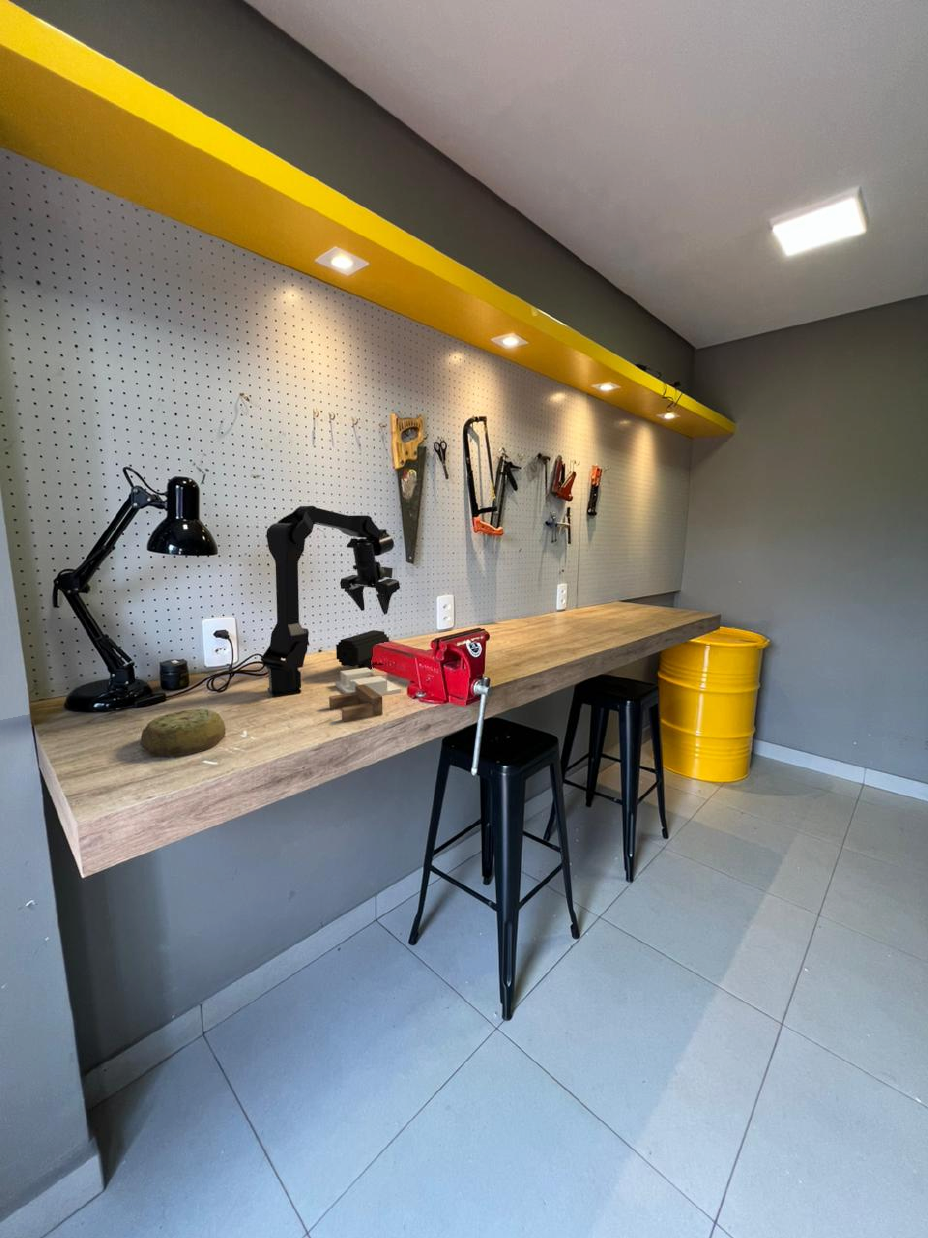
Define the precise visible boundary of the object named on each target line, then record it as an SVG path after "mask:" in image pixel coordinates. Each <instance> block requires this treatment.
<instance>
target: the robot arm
mask: <svg viewBox="0 0 928 1238" xmlns="http://www.w3.org/2000/svg"><path fill="white" fill-rule="evenodd" d="M315 525H318V526H323V527H326V528H331V529H336V530H339V531H340V532H342V533H343V534H345V535H348V536H349V537H352V538H350V540H349V542H348V543H347V544H346V548H347V549H352V552H353V556H354V557H353V558H354V563H355V564H354V565H352V569H353V570H356V574H350V575H349V576H346V577H343V578H341V580H340V582H339V584H340V589H343V590H344V592H346V593H347V594H348V596H349V597H350V598H351V599H352V600H353V602H354V603H355V605H356V606H357V607H358V608H359V610H360V611H362V612H363V611H365V606H366V605H365V598H364V589H365V588H372V589H375V592H376V593H377V594H375V595H376V598H377V600H378V604H379V607H380V609H381V612H382V613H383V615H387V614H388V612H389V608H390V607H389V606H390V604H391V603H390V602H391V598H392V595H393V594H394V593H397V591H398V590H400V589H401V584H400V581H399V580H398V579H396V578H395V579H394V578H393V570H394V568H393V567H389V566H387V567H386V566H381V562H380V561H377V559H376V557H378V556H381V555H384V554H386V553H389V552H391V551H392V550H393V549H394V546H395V542H394V539H393V538H392V536H391V535H390V534H389V533H388V532H387V529H386V528H383V529H381V528H378V526H377V525H376V523H375V522H374V521H373V517H371V516H370V515H365V514H364V515H357V514H356V515H347V514H343V513H340V512H336V511H331V510H327V509H323V508H320V507H317V506H315V505H300V506H298V507H296V509H294V510H293V511H292V512H291V513H288V514H287V515H286V516H284V517H282V518H280V519H279V520H278V521H277V522H276V523H273V524H271V525H270V526H269V527H268V528H266V529H267V530H266V535H265V536H266V541H267V547H268V551H269V553H270V554H271V557H272V558H273V560H274V562H275V588H276V589H275V590H276V620H277V621H276V624H275V625H274V628H273V629H272V632H271V633H270V642H269V646H268V647H267V649H266V650H265V652H264V653H263V654H262V656H261V658H260V663H261V664H262V666H263V667H267V675H268V687H267V691H268V692H269V693H270V694H269V695H271V696H272V697H274V698H276V697H281V696H287V695H292V694H293V695H294V694H300V693H302V690H301V688H302V675H301V674H302V673H301V671H300V670H299V669H301V668H303V667H304V664H305V663H304V662H305V657H306V654H307V653H308V646H311V645H310V641H309V635H310V631H309V629H308V628H304V627H303V626H302V624H301V623H300V609H299V607H300V600H299V598H300V597H299V561H300V558H302V555H303V553H304V551H305V546H306V545H305V544H306V539H307V538H308V537H309V536H310V535H311V534H312V532H314V531H313V530H314V526H315ZM353 537H356V538H353ZM385 578H386V579H385ZM283 659H284V660H283Z"/></svg>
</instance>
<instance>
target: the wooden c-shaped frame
mask: <svg viewBox="0 0 928 1238" xmlns="http://www.w3.org/2000/svg"><path fill="white" fill-rule="evenodd" d="M363 684H365V685H366V686H368V687H369V688H371V689H372V690H373V691H375V692H376V693H378V694H379V695H381V696H382V697H383V696H386V695H393V694H398V693H402V688H401V687H399V686H398V685H396V684H394V683H393V682H391V681H390V680H388V674H387V673H386V672H385V671H383V670H379V671H373V669H372V670H370V669H368V668H360V669H358V668H354V669H348V670H340V681H336V682H334V685H335V687H337V688H338V689H339V690H340V691H341V692H343V694H347V693H353V692H355V686H356V685H363Z"/></svg>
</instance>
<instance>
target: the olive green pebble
mask: <svg viewBox="0 0 928 1238" xmlns="http://www.w3.org/2000/svg"><path fill="white" fill-rule="evenodd" d="M141 732H142V733H141V736H140V737H141V738H140V745H141V748H142V749H143V750H144V751H145V752H146V753H148V754H149V755H152V756H157V757H178V756H182V755H183V756H184V755H185V756H186V755H191V754H195V753H198V752H202V751H207V750H209V749H211V748H213V747H214V746H216V745H218V744H219V743H220V742H221V741H222V740H224V738H225V737H226V725H225V722H224V720H223V718H222V717H221V716H220V714H219V713H217V712H216V711H213V710H211V709H207V708H192V709H184V710H178V711H174V712H169V713H167V714H166V713H165V714H163V715H161V716H160V715H159V716H158V717H155V718H154V719H152V720H151V721H149V722H148V723H147V724H146V726H145V727H144V729H143V730H142V731H141Z"/></svg>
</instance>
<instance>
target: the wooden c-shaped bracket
mask: <svg viewBox="0 0 928 1238" xmlns="http://www.w3.org/2000/svg"><path fill="white" fill-rule="evenodd" d="M328 698H329V699H328V702H329V705H328V706H329V709H330V710H332V711H334V709H335V710H340V709H341V720H342V721H343V722H344V723H348V722H353V721H354V722H355V721H358V720H365V719H368V717H369V718H373V716H374V717H378V715H379V716H382V715H381V714H383V695H382V696H381V695H379V694H378V693H376V692H375V691H373V690H372V689H371V688H369V687H368V686H366V685H365V684H363V685H356V686H355V692H353V693H347V694H345V693H342V694H335V695H330V696H328ZM339 708H340V709H339Z"/></svg>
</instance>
